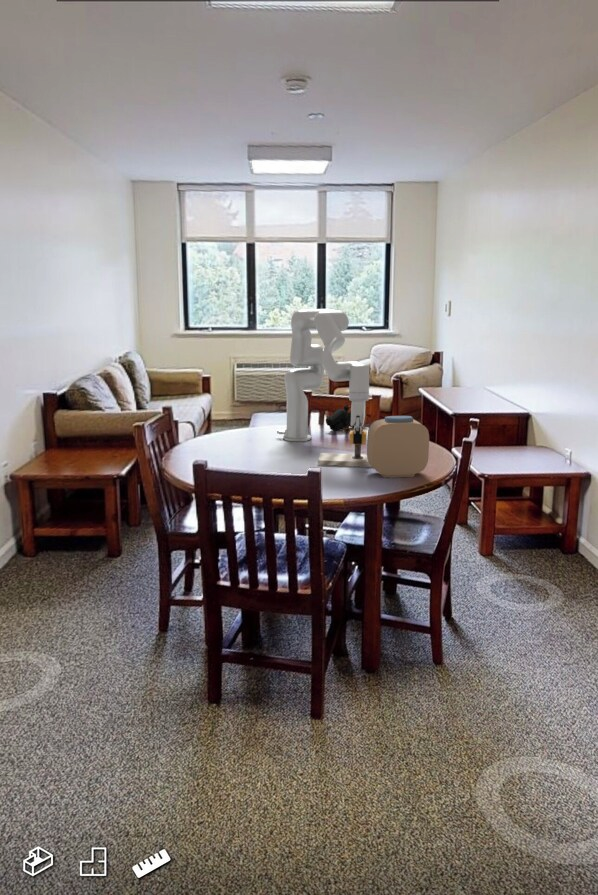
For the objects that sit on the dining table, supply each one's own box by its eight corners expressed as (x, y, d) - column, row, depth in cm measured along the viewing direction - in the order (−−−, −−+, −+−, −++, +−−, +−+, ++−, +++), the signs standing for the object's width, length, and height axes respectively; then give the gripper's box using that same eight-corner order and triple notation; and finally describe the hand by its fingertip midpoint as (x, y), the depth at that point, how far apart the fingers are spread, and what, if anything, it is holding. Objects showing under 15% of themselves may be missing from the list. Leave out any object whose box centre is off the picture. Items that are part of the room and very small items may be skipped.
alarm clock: (419, 470, 258) (422, 413, 253) (427, 476, 249) (430, 418, 244) (366, 471, 256) (367, 414, 251) (372, 478, 246) (373, 419, 241)
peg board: (317, 465, 265) (318, 445, 263) (320, 457, 276) (321, 438, 275) (375, 467, 262) (375, 446, 260) (375, 459, 274) (376, 440, 272)
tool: (329, 444, 331) (321, 417, 325) (359, 421, 343) (352, 394, 336) (341, 447, 325) (333, 419, 319) (371, 423, 337) (364, 396, 331)
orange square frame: (349, 444, 264) (349, 433, 263) (350, 440, 270) (350, 430, 269) (365, 444, 263) (366, 434, 262) (366, 441, 270) (366, 431, 269)
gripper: (350, 392, 272) (349, 436, 276) (347, 399, 255) (346, 446, 259) (369, 393, 271) (368, 437, 275) (368, 400, 254) (366, 447, 258)
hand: (357, 441), depth 267 cm, fingers closed on orange square frame, 6 cm apart
